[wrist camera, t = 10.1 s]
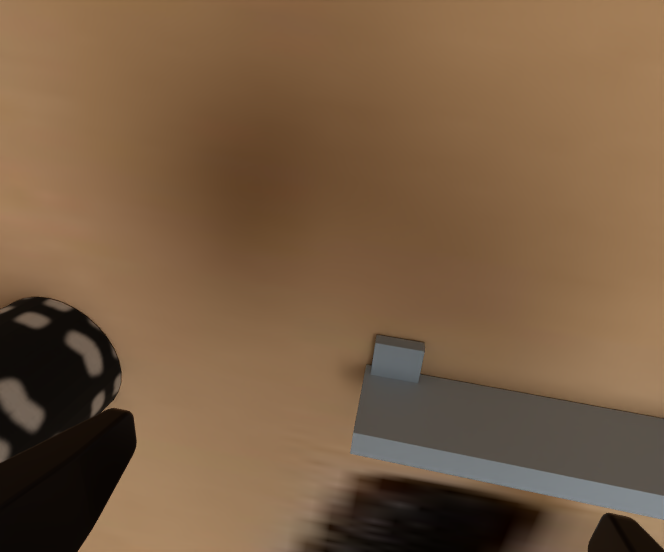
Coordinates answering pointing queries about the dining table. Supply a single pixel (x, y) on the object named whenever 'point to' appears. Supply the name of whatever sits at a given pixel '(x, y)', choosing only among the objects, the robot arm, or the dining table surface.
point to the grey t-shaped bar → (507, 435)
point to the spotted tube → (50, 372)
